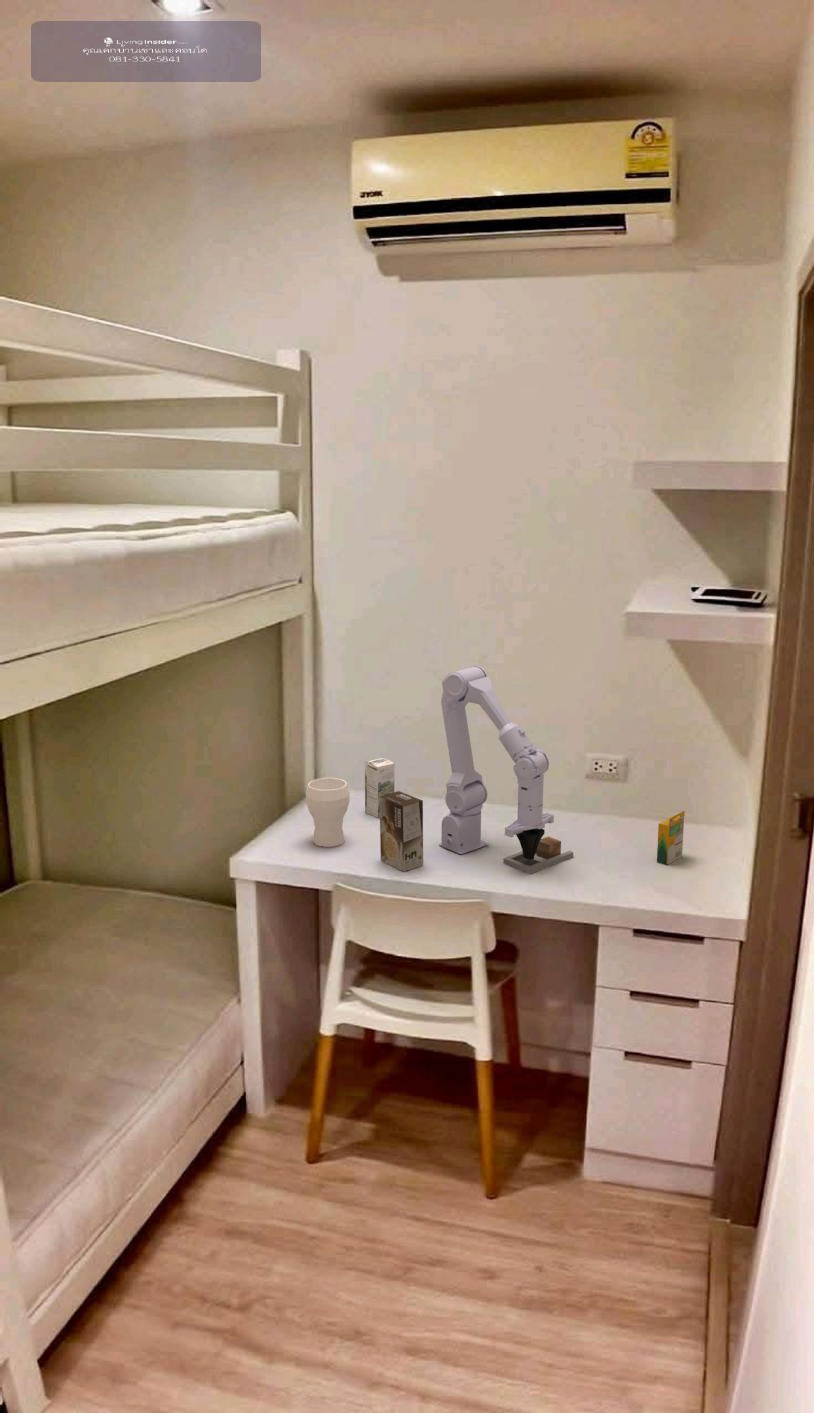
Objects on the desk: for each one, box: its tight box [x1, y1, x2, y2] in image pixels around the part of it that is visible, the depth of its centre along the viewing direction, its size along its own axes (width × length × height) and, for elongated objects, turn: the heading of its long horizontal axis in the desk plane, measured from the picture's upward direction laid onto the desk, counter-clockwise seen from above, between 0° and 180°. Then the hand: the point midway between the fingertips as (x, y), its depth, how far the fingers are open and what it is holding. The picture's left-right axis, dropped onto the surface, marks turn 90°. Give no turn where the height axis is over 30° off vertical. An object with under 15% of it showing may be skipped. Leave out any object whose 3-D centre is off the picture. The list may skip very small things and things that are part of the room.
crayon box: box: [656, 810, 686, 866], centre depth 236 cm, size 7×3×12 cm, turn 137°
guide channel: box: [502, 850, 574, 875], centre depth 237 cm, size 15×8×1 cm, turn 131°
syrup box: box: [364, 757, 396, 819], centre depth 266 cm, size 6×6×14 cm
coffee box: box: [379, 790, 424, 872], centre depth 234 cm, size 9×6×16 cm
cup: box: [305, 777, 350, 848], centre depth 247 cm, size 11×11×15 cm
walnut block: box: [536, 836, 562, 860], centre depth 239 cm, size 4×4×4 cm
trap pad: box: [518, 858, 541, 866], centre depth 235 cm, size 4×5×1 cm
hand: (528, 858), depth 234 cm, fingers closed
